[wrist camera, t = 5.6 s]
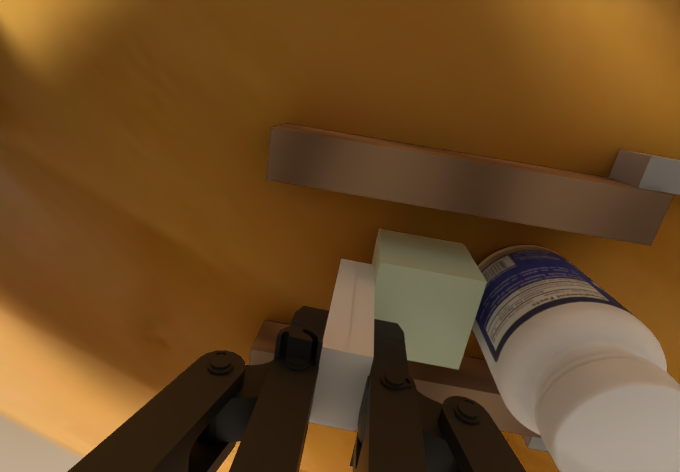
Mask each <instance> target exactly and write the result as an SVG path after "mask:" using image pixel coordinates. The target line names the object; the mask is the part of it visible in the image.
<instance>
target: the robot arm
mask: <svg viewBox="0 0 680 472" xmlns="http://www.w3.org/2000/svg"><path fill="white" fill-rule="evenodd" d="M374 294H375V265H373V264H368V263H362V262H357V261H352V260H347V259H341V262H340V266H339V271H338V275H337V280H336V284H335V288H334V293H333V297H332V302H331V306H330V311H327V310H322V309H316V308H311V307H306V306H303V307H302V308H300V309H299V310H298V311H296V312H295V315H294V318H293V320H292V323H291V325H290V326H288V327H285V328H283V329H281V330H280V331H279V332H278V334H277V338H276V346H275V353H274V359H273V360H272V361H270V362H268V363H264V364H259V365H245V362H244V360H243V359H242V358H241V356H239V355H237V354H236V353H234V352H229V351H214V352H210V353H207V354H205V355H203V356H202V357H200V358H199V359H198V360H197V361H195V362H194V363H193V364H192V365H191V366H190V367H188V368H187V369H186V370H185V371H184V372H183V373H182V374H180V375H179V376H178V377H177V378H176V379H175V380H173V381H172V382H171V383H170V384H169V385H168V386H166V387H165V388H164V389H163V390H162V391H161V392H159V393H158V394H157V395H156V396H155V397H154V398H152V399H151V400H150V401H149V402H148V403H147V404H146V405H144V406H143V407H142V408H141V409H140V410H139V411H137V412H136V413H135V414H134V415H133V416H132V417H130V418H129V419H128V420H127V421H126V422H125V423H123V424H122V425H121V426H120V427H119V428H118V429H116V430H115V431H114V432H113V433H112V434H111V435H109V436H108V437H107V438H106V439H105V440H104V441H103V442H101V443H100V444H99V445H98V446H97V447H96V448H94V449H93V450H92V451H91V452H90V453H89V454H87V455H86V456H85V457H84V458H83V459H82V460H80V461H79V462H78V463H77V464H76V465H75V466H74V467H72V468H71V469H70V470H69V471H68V472H216V471H217V470H218V468H219V467H220V466H221V464H222V463H223V462H224V460H225V459H226V458H227V456H228V455H229V454H230V452H231V451H232V450H233V448H234V446H235V444H236V442H237V441H241V443H240V445H239V448H238V450H237V453H236V455H235V458H234V460H233V463H232V465H231V468H230V470H229V472H299V468H300V463H301V458H302V454H303V449H304V444H305V439H306V434H307V429H308V423H309V422H310V423H314V424H319V425H324V426H329V427H334V428H339V429H344V430H349V431H354V432H356V430H357V426H358V433H357V437H356V442H355V446H354V450H353V454H352V459H351V463H350V466H353V472H526V471H525V469H524V468H523V466H522V465H521V463H520V461H519V460H518V458H517V457H516V455H515V454H514V452H513V451H512V449H511V447H510V446H509V444H508V443H507V441H506V440H505V438H504V436H503V435H502V433H501V432H500V430H499V429H498V427H497V425H496V424H495V422H494V421H493V419H492V418H491V416H490V414H489V413H488V412H487V411H486V410H485V409H484V407H482V406H481V405H480V404H478V403H477V402H475V401H473V400H471V399H469V398H466V397H462V396H451V397H448V398H447V399H445V400H444V402H443V404H441V403H439V402H437V401H434V400H432V399H430V398H428V397H426V396H424V395H423V394H421V393H420V392H419V391H418V390H417V389H416V385H415V382H414V380H413V379H412V378H411V377H410V376H409V371H408V363H407V354H406V346H405V337H404V332H403V330H402V329H401V327H400V326H399V325H398V323H393V322H388V321H383V320H378V319H374Z"/></svg>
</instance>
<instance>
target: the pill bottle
mask: <svg viewBox="0 0 680 472" xmlns="http://www.w3.org/2000/svg"><path fill="white" fill-rule="evenodd" d="M478 268H479V270H480V271H481V273H482V274H483V276H484V278H485V279H486V281H487V283H486V286H485V289H484V293H483V296H482V299H481V302H480V305H479V308H478V311H477V314H476V317H475V320H474V324H473V327H472V330H473V332H474V334H475V337H476V339H477V341H478V344H479V346H480V348H481V350H482V353H483V355H484V358H485V360H486V362H487V365H488V367H489V370H490V372H491V374H492V377H493V379H494V381H495V384H496V386H497V389H498V391H499V393H500V395H501V397H502V399H503V401H504V403H505V405H506V407H507V408H508V410H509V411H510V412H511V414H512V415H513V416H514V417H515V418H516V419H517V420H518V421H519V422H520V423H521V424H523V425H524V426H525V427H527V428H528V429H530V430H531V431H533V432H535V433H537V434H539V435H541V438H542V440H543V442H544V444H545V446H546V448H547V450H548V451H549V453H550V455H551V457H552V459H553V461H554V463H555V464H556V466H557V467H558V469H559V471H560V472H680V385H679V384H678V383H677V382H676V380H675V379H674V378H673V377H672V376H671V375H669V374H668V373H667V364H666V359H665V355H664V352H663V350H662V347H661V345H660V343H659V341H658V340H657V338H656V337H655V336H654V334H653V333H652V332H651V331H650V330H649V329H648V328H647V327H646V326H645V325H644V324H643V323H642V322H641V321H640V320H639V319H638V318H637V317H635V316H634V315H633V314H632V313H631V312H629V311H628V310H627V309H626V308H624V307H623V306H622V305H621V304H620V303H618V302H617V301H616V300H615V299H614V298H612V297H611V296H610V295H609V294H608V293H606V292H605V291H604V290H603V289H602V288H600V287H599V286H598V285H597V284H596V283H594V282H593V281H592V280H591V279H590V278H588V277H587V276H586V275H585V274H583V273H582V272H581V271H580V270H579V269H578V268H577V267H575V266H574V265H573V264H571V263H570V262H569V261H568V260H567V259H565V258H564V257H563V256H561V255H560V254H558V253H557V252H555V251H553V250H550V249H548V248H545V247H541V246H536V245H517V246H511V247H507V248H504V249H501V250H499V251H497V252H495V253H493V254H491V255H490V256H488V257H487V258H486V259H484V260H483V261H482V262H481V263H480V264H479V265H478Z"/></svg>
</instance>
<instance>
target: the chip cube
mask: <svg viewBox="0 0 680 472" xmlns="http://www.w3.org/2000/svg"><path fill="white" fill-rule="evenodd" d="M372 264H373V265H375V294H374V319H378V320H383V321H388V322H393V323H398V325H399V326H400V327H401V329H402V330H403V332H404V337H405V346H406V354H407V360H409V361H415V362H420V363H425V364H431V365H436V366H442V367H447V368H452V369H458V370H459V367H460V364H461V361H462V358H463V354H464V351H465V348H466V345H467V342H468V339H469V336H470V333H471V330H472V327H473V324H474V320H475V317H476V314H477V311H478V308H479V305H480V302H481V299H482V296H483V293H484V289H485V286H486V283H487V281H486V279H485V278H484V276H483V274H482V273H481V271H480V270H479V268H478V266H477V265H476V263H475V261H474V260H473V258H472V256H471V255H470V253H469V251H468V250H467V248H466V246H465V245H464V244H463V243H457V242H452V241H446V240H441V239H435V238H429V237H424V236H418V235H413V234H407V233H402V232H396V231H390V230H385V229H379V230H378V235H377V240H376V245H375V249H374V254H373V259H372Z"/></svg>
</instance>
